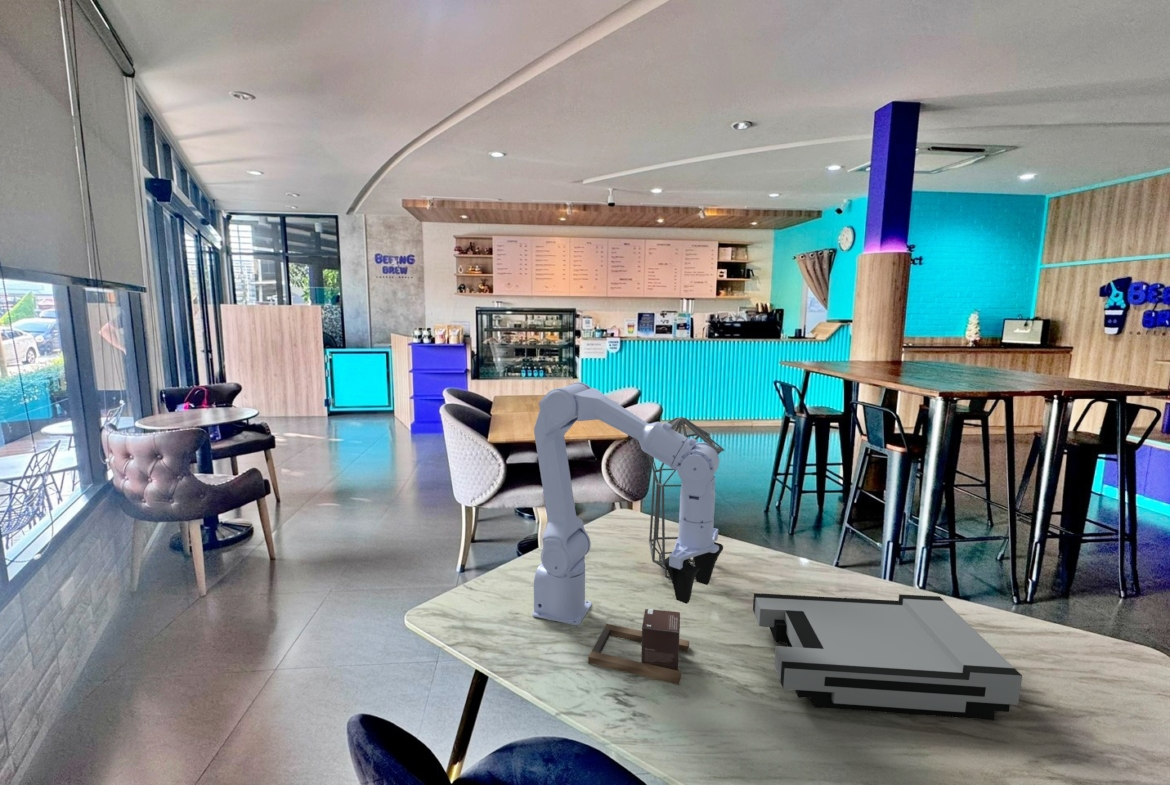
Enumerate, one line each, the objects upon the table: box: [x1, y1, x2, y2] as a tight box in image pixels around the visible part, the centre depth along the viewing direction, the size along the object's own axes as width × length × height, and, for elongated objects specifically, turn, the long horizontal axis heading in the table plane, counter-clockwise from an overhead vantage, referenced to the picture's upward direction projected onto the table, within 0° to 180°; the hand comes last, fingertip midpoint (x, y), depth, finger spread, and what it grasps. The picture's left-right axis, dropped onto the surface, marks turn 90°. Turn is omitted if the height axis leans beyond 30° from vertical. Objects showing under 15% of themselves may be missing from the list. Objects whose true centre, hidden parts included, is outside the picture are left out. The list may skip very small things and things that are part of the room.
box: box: [640, 608, 681, 671], centre depth 90 cm, size 6×6×7 cm
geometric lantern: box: [646, 416, 725, 579], centre depth 118 cm, size 16×16×35 cm
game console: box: [752, 592, 1023, 721], centre depth 87 cm, size 21×32×8 cm, turn 85°
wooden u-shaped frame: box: [587, 623, 690, 686], centre depth 91 cm, size 15×10×1 cm, turn 70°
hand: (692, 591), depth 93 cm, fingers open, 7 cm apart
